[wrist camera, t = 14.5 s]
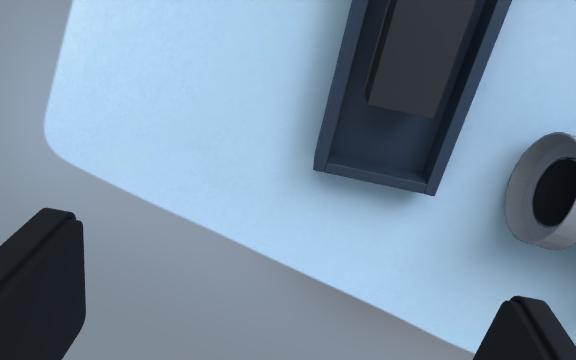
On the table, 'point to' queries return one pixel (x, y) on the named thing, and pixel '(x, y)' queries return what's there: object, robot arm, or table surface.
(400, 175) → the tray
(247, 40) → the table surface
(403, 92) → the eraser
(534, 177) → the digital camera
